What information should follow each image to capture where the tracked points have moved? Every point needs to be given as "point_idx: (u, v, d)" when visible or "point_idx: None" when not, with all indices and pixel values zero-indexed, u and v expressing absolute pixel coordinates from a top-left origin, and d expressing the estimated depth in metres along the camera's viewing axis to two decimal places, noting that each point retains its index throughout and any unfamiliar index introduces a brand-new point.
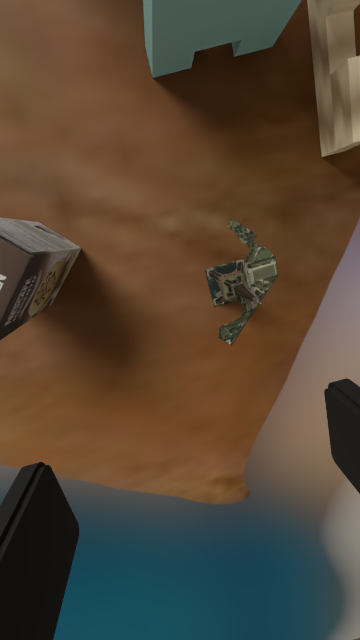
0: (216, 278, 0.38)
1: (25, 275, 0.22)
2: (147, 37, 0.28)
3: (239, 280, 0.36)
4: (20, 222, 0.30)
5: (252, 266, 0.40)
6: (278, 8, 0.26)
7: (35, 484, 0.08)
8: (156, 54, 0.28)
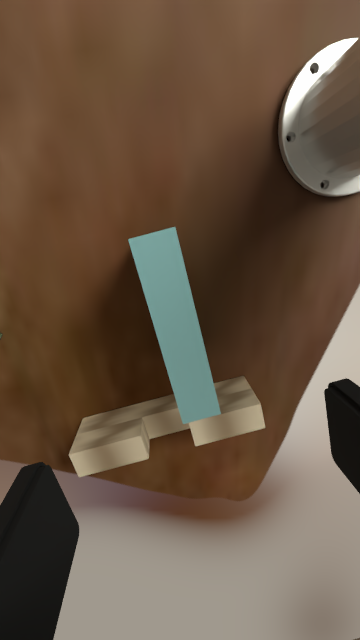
0: None
1: None
2: None
3: None
4: None
5: None
6: None
7: (35, 484, 0.08)
8: None
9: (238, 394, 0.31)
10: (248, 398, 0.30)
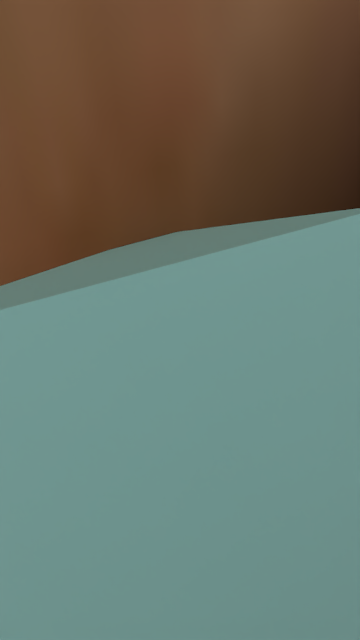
0: None
1: None
2: (146, 241, 0.09)
3: None
4: None
5: None
6: None
7: None
8: None
9: None
10: None
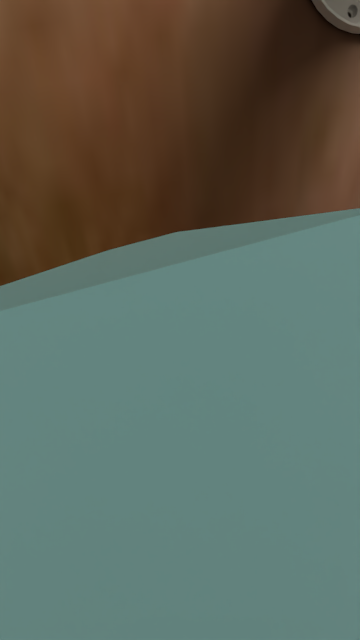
0: None
1: None
2: (146, 241, 0.09)
3: None
4: None
5: None
6: None
7: None
8: None
9: None
10: None
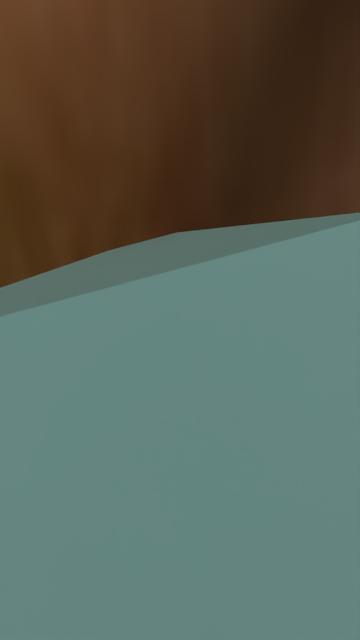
0: None
1: None
2: (146, 241, 0.09)
3: None
4: None
5: None
6: None
7: None
8: None
9: None
10: None
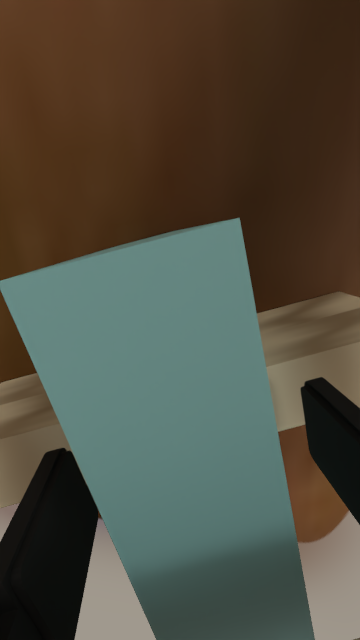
0: None
1: None
2: (149, 237, 0.11)
3: None
4: None
5: None
6: None
7: (59, 467, 0.09)
8: None
9: (351, 314, 0.13)
10: None
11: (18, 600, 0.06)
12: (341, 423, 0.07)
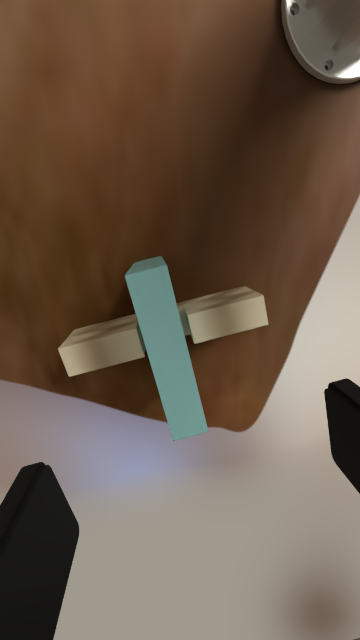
0: None
1: None
2: (149, 260, 0.28)
3: None
4: None
5: None
6: None
7: (35, 484, 0.08)
8: None
9: (239, 294, 0.30)
10: (250, 294, 0.29)
11: None
12: None
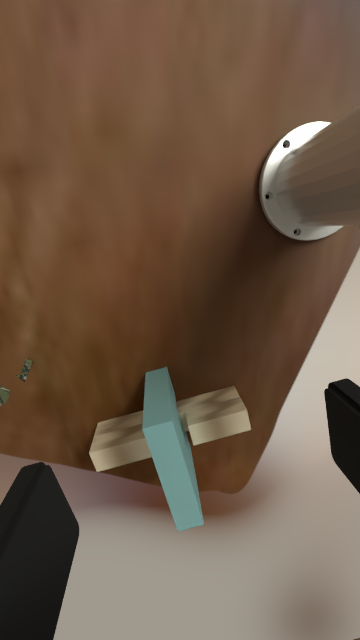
0: None
1: None
2: (158, 382, 0.36)
3: None
4: None
5: None
6: None
7: (35, 484, 0.08)
8: None
9: (229, 402, 0.38)
10: (237, 405, 0.37)
11: None
12: None
